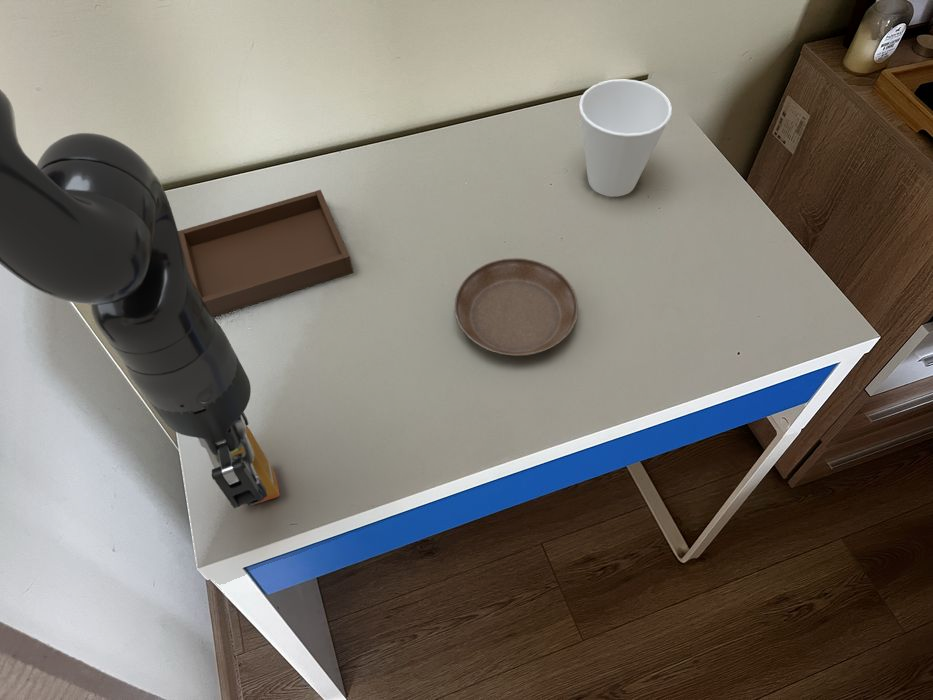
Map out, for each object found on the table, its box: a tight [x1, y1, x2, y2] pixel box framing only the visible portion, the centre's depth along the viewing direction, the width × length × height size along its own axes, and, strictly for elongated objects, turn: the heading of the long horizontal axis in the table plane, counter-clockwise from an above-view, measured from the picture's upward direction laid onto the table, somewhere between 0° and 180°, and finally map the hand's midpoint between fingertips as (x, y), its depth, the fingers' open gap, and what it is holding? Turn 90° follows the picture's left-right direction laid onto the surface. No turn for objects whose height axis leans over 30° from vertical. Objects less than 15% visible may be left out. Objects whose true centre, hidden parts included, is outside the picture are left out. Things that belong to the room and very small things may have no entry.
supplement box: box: [231, 425, 281, 506], centre depth 70 cm, size 3×3×10 cm
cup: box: [578, 78, 673, 198], centre depth 95 cm, size 12×12×12 cm
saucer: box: [454, 257, 579, 357], centre depth 85 cm, size 15×15×3 cm
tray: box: [178, 189, 354, 318], centre depth 92 cm, size 20×14×3 cm
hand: (246, 460), depth 69 cm, fingers open, 8 cm apart
